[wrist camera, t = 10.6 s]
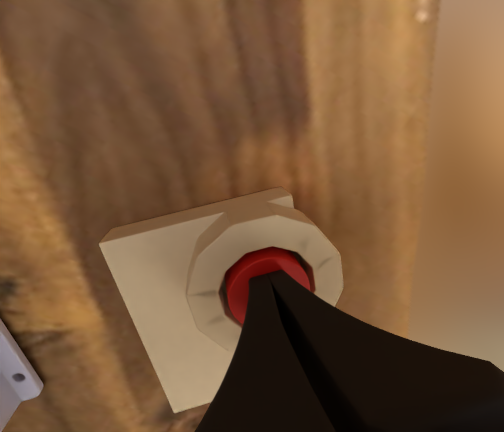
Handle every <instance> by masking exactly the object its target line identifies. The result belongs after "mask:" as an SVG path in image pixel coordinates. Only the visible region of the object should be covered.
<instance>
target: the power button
mask: <svg viewBox="0 0 504 432" xmlns="http://www.w3.org/2000/svg"><path fill="white" fill-rule="evenodd" d="M281 269H282V270H284V271H285V272H286V273H287V274H289V275H290V276H291V277H292V278H293V279H295V280H296V281H297V282H299V283H300V284H301V285H302V286H304V287H305V288H306V289H308V290H309V291H310V283H309V279H308V276H307V274H306V273H305V271H304V269H303V268H302V267H301V265H300V264H299V262H298V261H297V259H296V258H295V256H294V255H293V253H292V252H291V251H290V250H287V249H283V248H278V247H274V246H271V247H267V248H263V249H259V250H256V251H252V252H248V253H246V254H244V255H243V256H242V257H241V258H240V259H239V260H238V261H237V262H235V263H234V264H233V265H232V266H231V267H230V268H229V269H228V270H227V271H226V272H225V284H226V291H227V298H228V304H229V308H230V310H231V312H232V314H233V315H234V317H235V318H236V319H237V320H238V321H239V322H241V323H242V324H243V322H244V319H245V314H246V308H247V302H248V294H249V284H248V281H249V279H250V278H252V277H255V276H259V275H262V274H266V273H270V272H273V271H277V270H281Z"/></svg>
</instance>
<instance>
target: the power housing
mask: <svg viewBox="0 0 504 432" xmlns="http://www.w3.org/2000/svg"><path fill="white" fill-rule="evenodd" d="M271 246H274V247H278V248H283V249H287V250H290V251H291V252H292V253H293V255H294V256H295V258H296V259H297V261H298V262H299V264H300V265H301V267H302V268H303V269H304V271H305V273H306V274H307V276H308V279H309V283H310V291H311V292H312V293H314V294H315V295H317V296H318V297H319V298H321V299H323V300H324V301H326V302H327V303H329V304H331V305H332V306H334V307H335V305H336V303H337V301H338V299H339V296H340V294H341V292H342V290H343V288H344V285H343V276H342V266H341V256H340V253H339V251H338V250H337V249H336V247H335V246H334V245H333V244H332V243H331V242H330V241H329V240H328V238H327V237H326V236H325V235H324V234H323V233H322V232H321V230H320V229H319V228H318V227H317V226H316V225H315V224H314V223H313V222H312V221H311V220H310V219H309V218H307V217H306V216H305V215H304V214H303V213H302V212H301V211H299V210H296V209H294V204H293V198H292V195H291V194H290V193H289V192H287V191H286V190H285V189H284V188H283V187H277V188H273V189H269V190H264V191H260V192H256V193H252V194H248V195H244V196H240V197H236V198H232V199H228V200H224V201H220V202H216V203H212V204H208V205H204V206H200V207H196V208H192V209H188V210H184V211H179V212H175V213H171V214H167V215H163V216H159V217H155V218H151V219H147V220H143V221H139V222H135V223H131V224H127V225H123V226H119V227H115V228H111V229H110V231H109V232H108V233H107V234H106V235H105V236H104V238H103V239H102V240H101V241H100V242H99V247H100V249H101V251H102V253H103V256H104V258H105V260H106V262H107V264H108V267H109V269H110V271H111V273H112V276H113V278H114V280H115V282H116V284H117V287H118V289H119V291H120V293H121V296H122V298H123V300H124V302H125V305H126V307H127V309H128V311H129V313H130V316H131V318H132V320H133V322H134V325H135V327H136V329H137V331H138V334H139V336H140V338H141V340H142V342H143V345H144V347H145V349H146V351H147V354H148V356H149V358H150V360H151V363H152V365H153V367H154V369H155V371H156V374H157V376H158V378H159V380H160V383H161V385H162V387H163V389H164V391H165V394H166V396H167V398H168V400H169V403H170V405H171V407H172V409H173V412H174V413H177V412H180V411H183V410H187V409H190V408H193V407H196V406H200V405H203V404H206V403H209V402H212V400H213V398H214V397H215V395H216V393H217V391H218V389H219V387H220V385H221V383H222V381H223V379H224V376H225V374H226V372H227V369H228V367H229V365H230V362H231V360H232V357H233V355H234V352H235V349H236V347H237V344H238V340H239V337H240V334H241V330H242V326H243V324H242V323H241V322H239V321H238V320H237V319H236V318H235V317H234V315H233V314H232V312H231V310H230V308H229V304H228V298H227V291H226V284H225V272H226V271H227V270H228V269H229V268H230V267H231V266H232V265H233V264H234V263H235V262H237V261H238V260H239V259H240V258H241V257H242V256H243V255H244V254H246V253H248V252H252V251H256V250H259V249H263V248H267V247H271Z"/></svg>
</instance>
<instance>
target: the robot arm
mask: <svg viewBox="0 0 504 432" xmlns="http://www.w3.org/2000/svg"><path fill="white" fill-rule="evenodd" d="M248 284H249V294H248V302H247V308H246V314H245V319H244V322H243V326H242V330H241V334H240V337H239V340H238V344H237V347H236V349H235V352H234V355H233V357H232V360H231V362H230V365H229V367H228V369H227V372H226V374H225V376H224V379H223V381H222V383H221V385H220V387H219V389H218V391H217V393H216V395H215V397H214V398H213V400H212V402H211V404H210V406H209V408H208V410H207V411H206V413H205V415H204V417H203V419H202V420H201V422H200V424H199V426H198V427H197V429H196V430H195V432H504V372H503V371H502V370H500V369H499V368H498V367H496V366H495V365H494V364H492V363H491V362H490V361H485V360H482V359H478V358H474V357H470V356H465V355H461V354H457V353H453V352H449V351H445V350H441V349H438V348H434V347H431V346H428V345H424V344H421V343H418V342H415V341H412V340H409V339H406V338H403V337H400V336H397V335H394V334H392V333H389V332H387V331H384V330H382V329H379V328H377V327H374V326H372V325H370V324H367V323H365V322H363V321H361V320H359V319H357V318H355V317H352V316H350V315H348V314H346V313H344V312H343V311H341V310H339V309H337V308H336V307H334V306H332V305H331V304H329V303H327V302H326V301H324V300H323V299H321V298H319V297H318V296H317V295H315V294H314V293H312V292H311V291H309V290H308V289H306V288H305V287H304V286H302V285H301V284H300V283H299V282H297V281H296V280H295V279H293V278H292V277H291V276H290V275H289V274H287V273H286V272H285V271H284V270H282V269H281V270H277V271H273V272H270V273H266V274H262V275H259V276H255V277H252V278H250V279H249V281H248ZM19 373H20V374H19ZM22 374H23V375H22ZM43 386H44V385H43V383H42V381H41V380H40V378H39V376H38V375H37V373H36V372H35V370H34V369H33V367H32V366H31V364H30V363H29V361H28V360H27V358H26V357H25V355H24V354H23V352H22V351H21V349H20V348H19V346H18V345H17V343H16V342H15V340H14V339H13V337H12V335H11V334H10V332H9V331H8V329H7V328H6V326H5V325H4V323H3V322H2V320H1V319H0V432H2V430H3V429H4V427H5V426H6V424H7V423H8V421H9V420H10V418H11V417H12V415H13V413H14V412H15V410H16V409H17V407H18V406H19V404H20V403H21V402H22V401H25V400H28V399H32V398H35V397H37V396H38V395H39V394H40V393H41V391H42V389H43Z"/></svg>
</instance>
